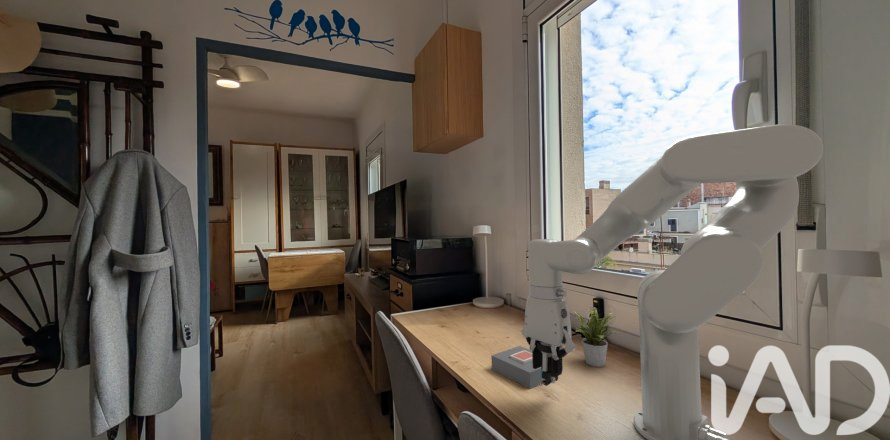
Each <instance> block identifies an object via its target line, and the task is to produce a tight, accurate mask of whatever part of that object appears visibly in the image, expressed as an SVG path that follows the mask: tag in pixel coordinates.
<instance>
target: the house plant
mask: <svg viewBox="0 0 890 440" xmlns="http://www.w3.org/2000/svg"><path fill="white" fill-rule="evenodd" d="M588 310H589V312H590V320H589V321H588V322H587V323H586V320H585V319H584V318H583V317H582V315H581V314H579V313H578V312H576V311H575V310H572V312H574V313H575V314H576V315H577V316H578V317H577V316H575V318H576V319H577V320H579V322H580V328H579V327H575V331H574V332H580V333H581V334H582V335H583V336H584V338H583V339H581V345H582V348H583V354H584V360H585V363H586V364H587V365H588V366H589V365H590V366H591V367H596V368H597V367H598V368H600V367H604V366H605V364H606V359H607V352H608V345H609V344H608V343H609V342H607V341H606V340H605V339H606V338H607V337H609V336H611V335H612V334H615V335H617V333H619V331H618V330H617V331H612V330H606V329H607V327H608V326H609V325H611V324H614V323H615V324H616V323H617V322H616V321H612V322H609V321H611V320H612V319H615V318H617V316H612V314H614V311H613V312H610V313H608V314H605V316H604V317H603V318H599V313H598V309H597V308H596V307H595V308H594V309H592V310H591V309H590V308H588ZM607 322H609V323H607ZM607 333H608V334H607ZM605 334H607V335H605Z"/></svg>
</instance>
